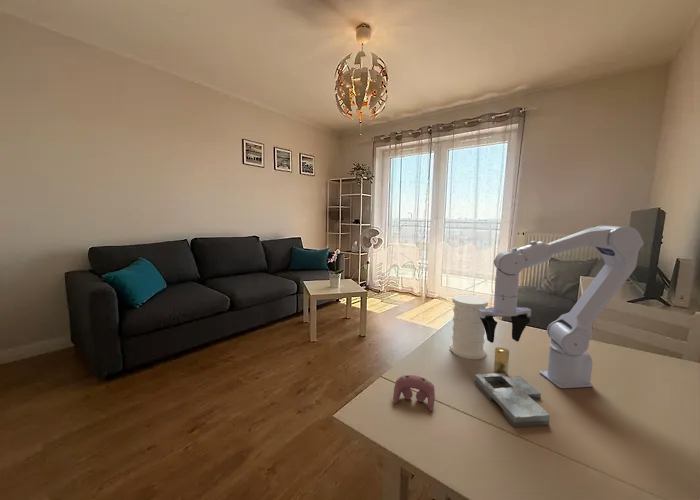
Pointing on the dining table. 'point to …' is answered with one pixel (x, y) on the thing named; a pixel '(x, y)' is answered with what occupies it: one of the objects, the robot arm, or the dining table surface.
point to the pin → (501, 360)
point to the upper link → (514, 402)
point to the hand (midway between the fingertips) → (502, 340)
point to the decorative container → (468, 327)
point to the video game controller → (414, 382)
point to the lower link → (518, 381)
